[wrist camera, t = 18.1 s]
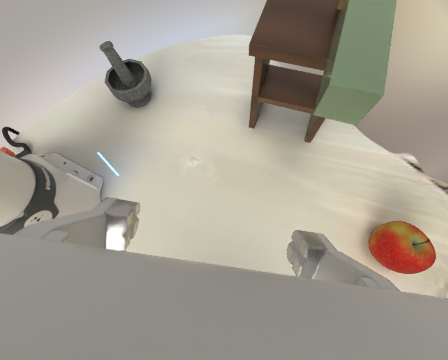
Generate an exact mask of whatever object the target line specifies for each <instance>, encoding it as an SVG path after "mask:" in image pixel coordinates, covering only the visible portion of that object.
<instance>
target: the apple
mask: <svg viewBox="0 0 448 360" xmlns="http://www.w3.org/2000/svg"><path fill="white" fill-rule="evenodd" d="M369 249H370V251H371V253H372V255H373V256H374V257H375V259H376V260H377V261H378V262H379V263H381V264H382V265H383V266H385V267H387V268H388V269H390V270H393V271H395V272H399V273H403V274H414V273H419V272H422V271H424V270H426V269H428V268H429V267H431V266H432V265H433V263H434V262H435V259H436V253H435V250H434V247H433V245H432V243H431V242H430V240H429V239H428V237H427V236H426V235H425V234H424V233H423V232H422V231H421V230H419V229H418V228H417V227H415V226H413V225H411V224H409V223H406V222H401V221H392V222H388V223H385V224H382V225H381V226H379V227H378V228H376V229H375V230H374V231H373V233H372V234H371V236H370V239H369Z"/></svg>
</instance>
